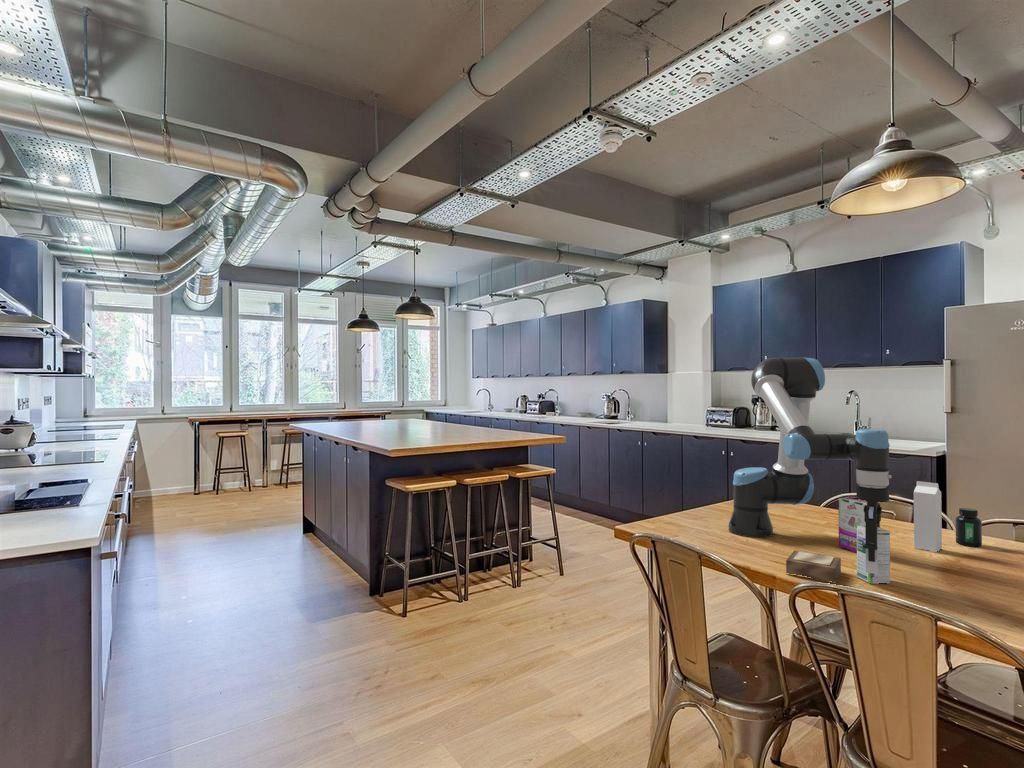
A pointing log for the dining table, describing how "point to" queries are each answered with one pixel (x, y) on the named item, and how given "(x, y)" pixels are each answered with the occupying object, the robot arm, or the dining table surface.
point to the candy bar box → (850, 522)
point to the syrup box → (883, 556)
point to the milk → (927, 517)
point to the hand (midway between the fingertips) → (873, 568)
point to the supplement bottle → (968, 528)
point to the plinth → (814, 566)
